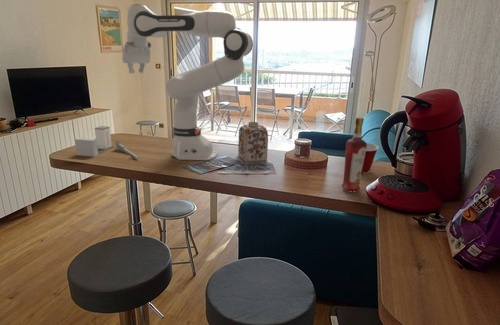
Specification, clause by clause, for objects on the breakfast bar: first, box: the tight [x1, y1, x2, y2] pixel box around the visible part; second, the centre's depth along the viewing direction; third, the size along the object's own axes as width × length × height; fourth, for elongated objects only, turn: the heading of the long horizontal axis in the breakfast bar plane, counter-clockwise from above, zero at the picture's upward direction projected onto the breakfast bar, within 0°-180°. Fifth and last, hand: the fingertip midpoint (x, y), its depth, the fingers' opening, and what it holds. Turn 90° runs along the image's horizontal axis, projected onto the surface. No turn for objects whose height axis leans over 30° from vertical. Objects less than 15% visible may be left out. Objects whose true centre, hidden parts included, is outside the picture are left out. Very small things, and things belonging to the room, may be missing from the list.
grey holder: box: [74, 137, 115, 158], centre depth 161 cm, size 14×18×9 cm
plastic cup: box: [362, 142, 380, 173], centre depth 146 cm, size 11×11×12 cm
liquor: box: [341, 116, 368, 193], centre depth 122 cm, size 7×7×28 cm
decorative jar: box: [237, 121, 269, 163], centre depth 159 cm, size 12×12×18 cm
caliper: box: [115, 140, 141, 161], centre depth 160 cm, size 20×1×6 cm, turn 50°
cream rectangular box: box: [94, 125, 113, 150], centre depth 166 cm, size 5×5×11 cm
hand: (136, 72), depth 157 cm, fingers open, 8 cm apart
